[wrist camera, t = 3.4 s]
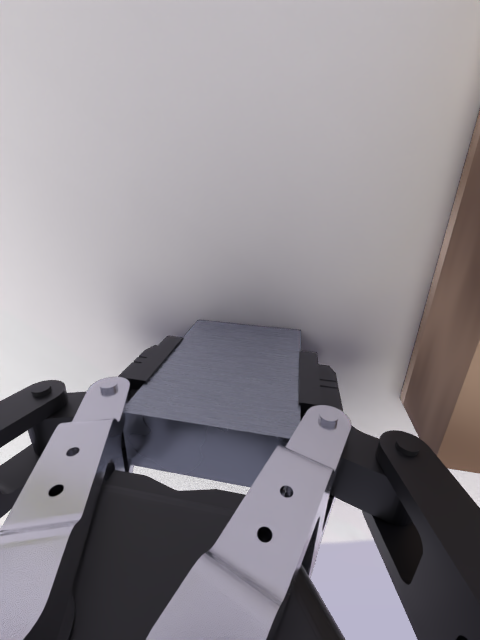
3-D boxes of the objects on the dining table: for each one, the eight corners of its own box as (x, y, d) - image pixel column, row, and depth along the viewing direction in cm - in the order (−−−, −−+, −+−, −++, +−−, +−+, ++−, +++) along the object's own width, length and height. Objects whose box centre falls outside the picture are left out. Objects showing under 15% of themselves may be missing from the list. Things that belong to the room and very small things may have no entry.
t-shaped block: (197, 319, 15) (120, 411, 8) (300, 330, 14) (300, 440, 8) (201, 444, 18) (146, 580, 12) (285, 458, 17) (276, 613, 11)
